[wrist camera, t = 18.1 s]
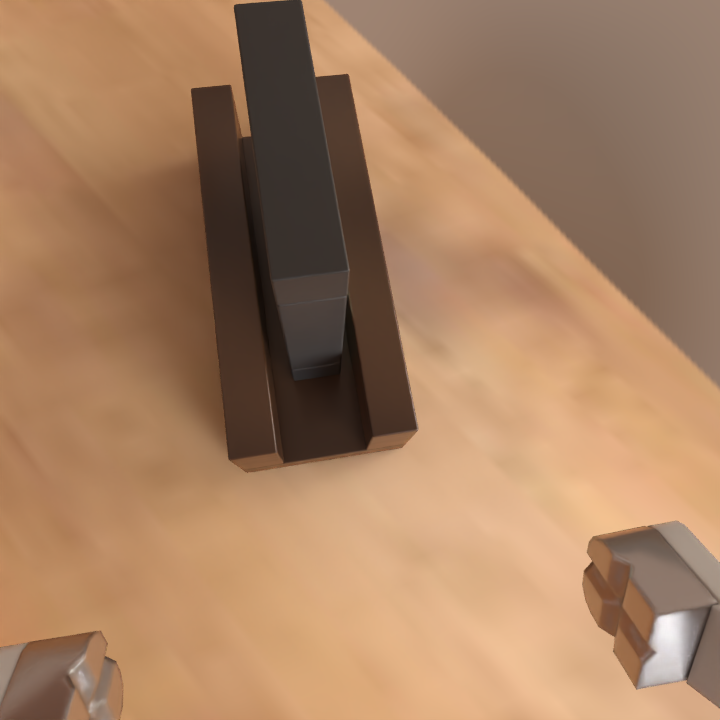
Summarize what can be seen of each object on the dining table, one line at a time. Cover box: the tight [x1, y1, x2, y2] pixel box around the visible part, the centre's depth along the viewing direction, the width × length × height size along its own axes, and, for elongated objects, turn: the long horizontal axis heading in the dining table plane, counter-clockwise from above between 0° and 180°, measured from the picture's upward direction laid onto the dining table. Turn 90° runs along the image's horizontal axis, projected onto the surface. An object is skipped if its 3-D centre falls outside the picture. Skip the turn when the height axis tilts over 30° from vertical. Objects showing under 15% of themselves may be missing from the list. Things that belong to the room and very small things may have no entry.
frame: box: [234, 0, 350, 381], centre depth 18 cm, size 8×2×9 cm, turn 9°
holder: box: [191, 74, 418, 473], centre depth 21 cm, size 14×6×4 cm, turn 9°
